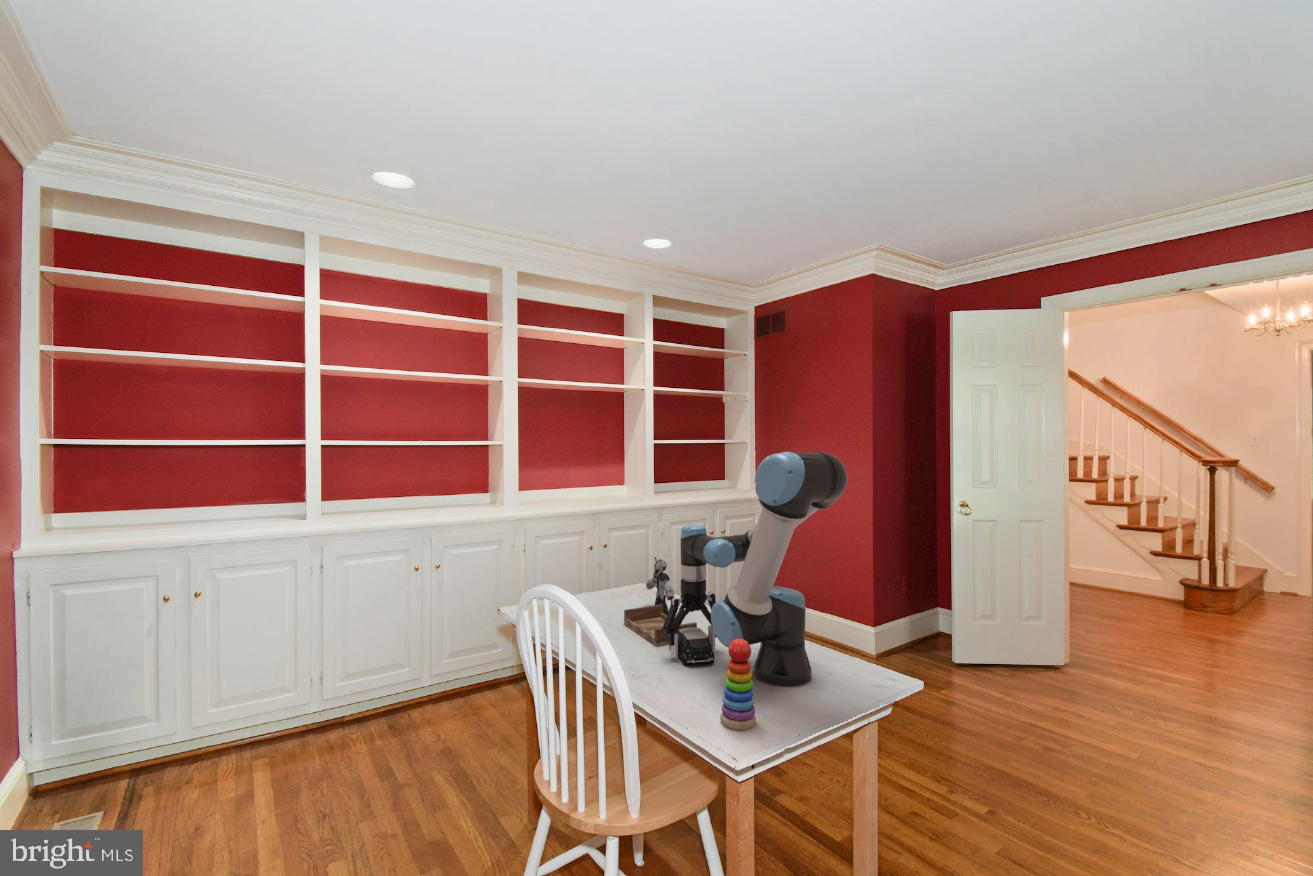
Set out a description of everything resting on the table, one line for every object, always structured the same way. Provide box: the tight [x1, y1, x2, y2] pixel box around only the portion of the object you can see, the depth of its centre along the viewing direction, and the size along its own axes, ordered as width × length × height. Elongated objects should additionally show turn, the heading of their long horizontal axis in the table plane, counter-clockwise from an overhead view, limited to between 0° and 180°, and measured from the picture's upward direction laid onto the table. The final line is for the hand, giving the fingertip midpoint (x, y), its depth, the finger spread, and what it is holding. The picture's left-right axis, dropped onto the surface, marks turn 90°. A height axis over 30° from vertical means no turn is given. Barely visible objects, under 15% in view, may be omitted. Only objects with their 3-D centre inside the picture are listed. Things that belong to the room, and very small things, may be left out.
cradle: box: [623, 604, 698, 647], centre depth 193 cm, size 23×14×5 cm, turn 28°
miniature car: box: [668, 627, 716, 667], centre depth 172 cm, size 9×18×8 cm, turn 15°
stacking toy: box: [719, 639, 757, 731], centre depth 132 cm, size 8×8×19 cm
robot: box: [645, 556, 675, 615], centre depth 214 cm, size 20×5×20 cm, turn 26°
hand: (693, 652), depth 172 cm, fingers open, 12 cm apart
